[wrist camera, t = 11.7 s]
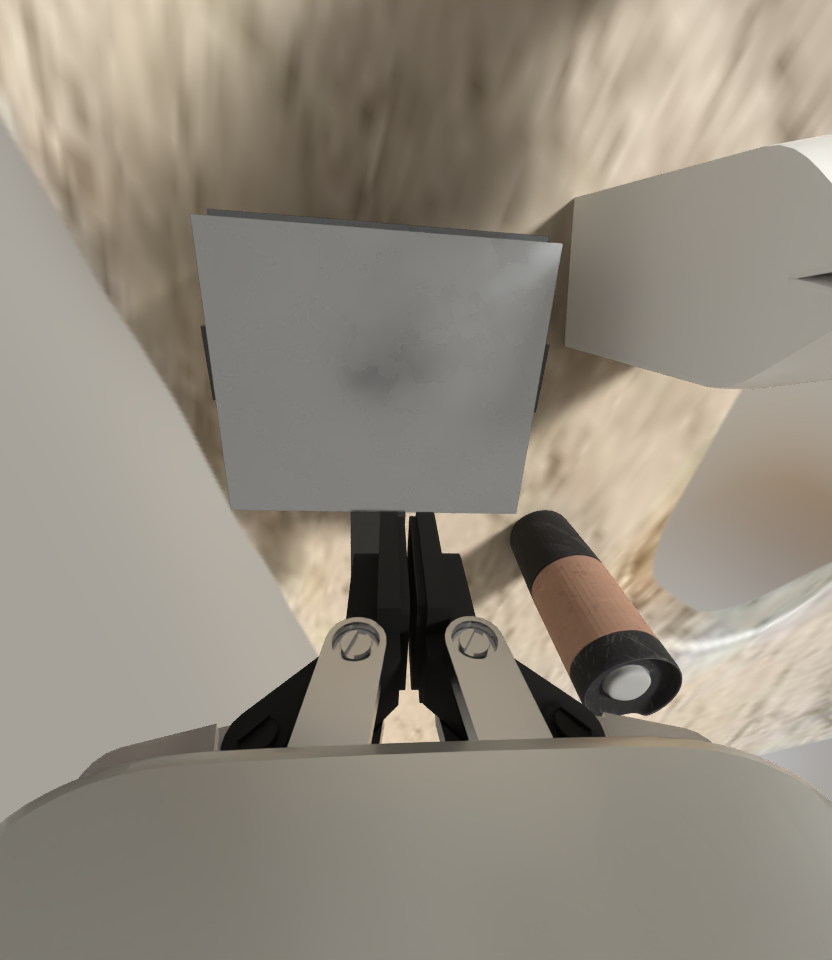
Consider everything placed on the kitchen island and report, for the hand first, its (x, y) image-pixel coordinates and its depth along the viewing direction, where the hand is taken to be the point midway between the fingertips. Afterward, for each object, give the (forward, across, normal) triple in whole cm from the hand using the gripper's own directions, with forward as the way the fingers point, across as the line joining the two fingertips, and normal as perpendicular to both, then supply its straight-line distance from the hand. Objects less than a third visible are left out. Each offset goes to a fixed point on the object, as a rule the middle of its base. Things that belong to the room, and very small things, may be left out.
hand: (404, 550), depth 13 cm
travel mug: (+28, -18, +19) cm, 38 cm away
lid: (+17, +1, +3) cm, 17 cm away
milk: (+28, -21, -9) cm, 36 cm away
